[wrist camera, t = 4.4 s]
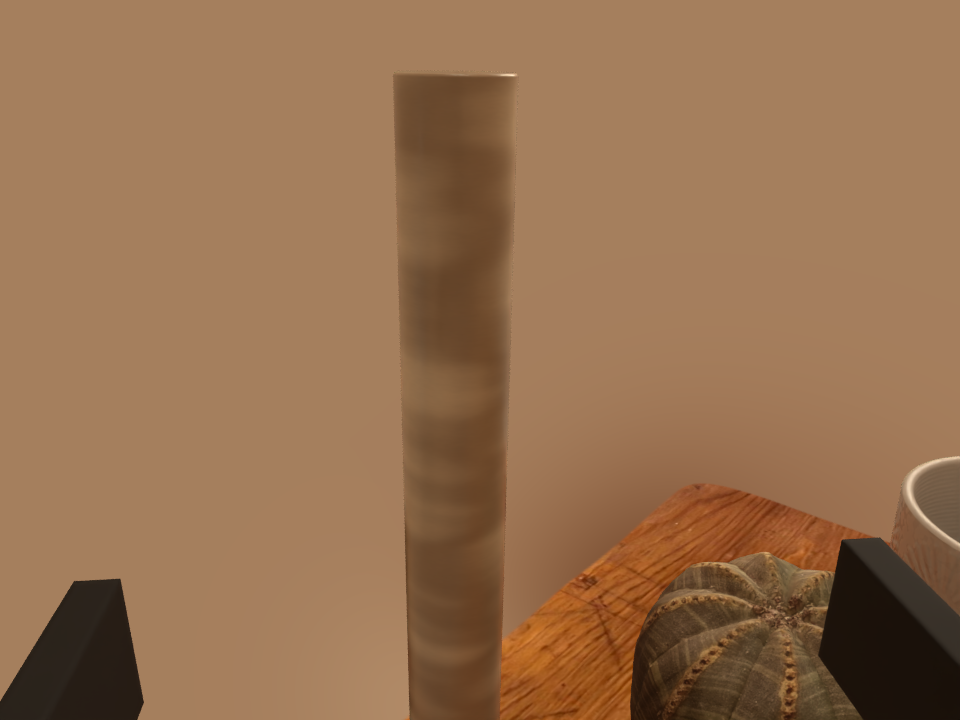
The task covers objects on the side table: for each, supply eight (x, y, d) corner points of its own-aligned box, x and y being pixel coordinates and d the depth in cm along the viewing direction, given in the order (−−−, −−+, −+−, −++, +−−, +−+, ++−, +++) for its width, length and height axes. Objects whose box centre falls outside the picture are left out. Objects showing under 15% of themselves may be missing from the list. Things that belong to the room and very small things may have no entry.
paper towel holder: (405, 978, 28) (375, 74, 17) (362, 855, 32) (315, 69, 21) (552, 904, 30) (609, 74, 19) (493, 799, 34) (513, 70, 23)
